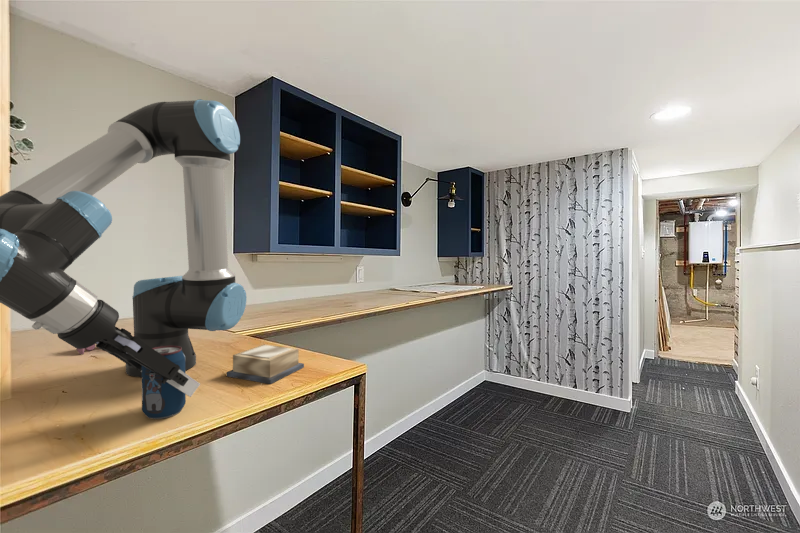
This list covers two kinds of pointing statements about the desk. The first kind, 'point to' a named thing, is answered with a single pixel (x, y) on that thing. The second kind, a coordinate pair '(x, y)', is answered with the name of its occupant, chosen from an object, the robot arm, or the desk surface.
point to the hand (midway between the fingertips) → (182, 385)
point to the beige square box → (265, 364)
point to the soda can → (162, 388)
